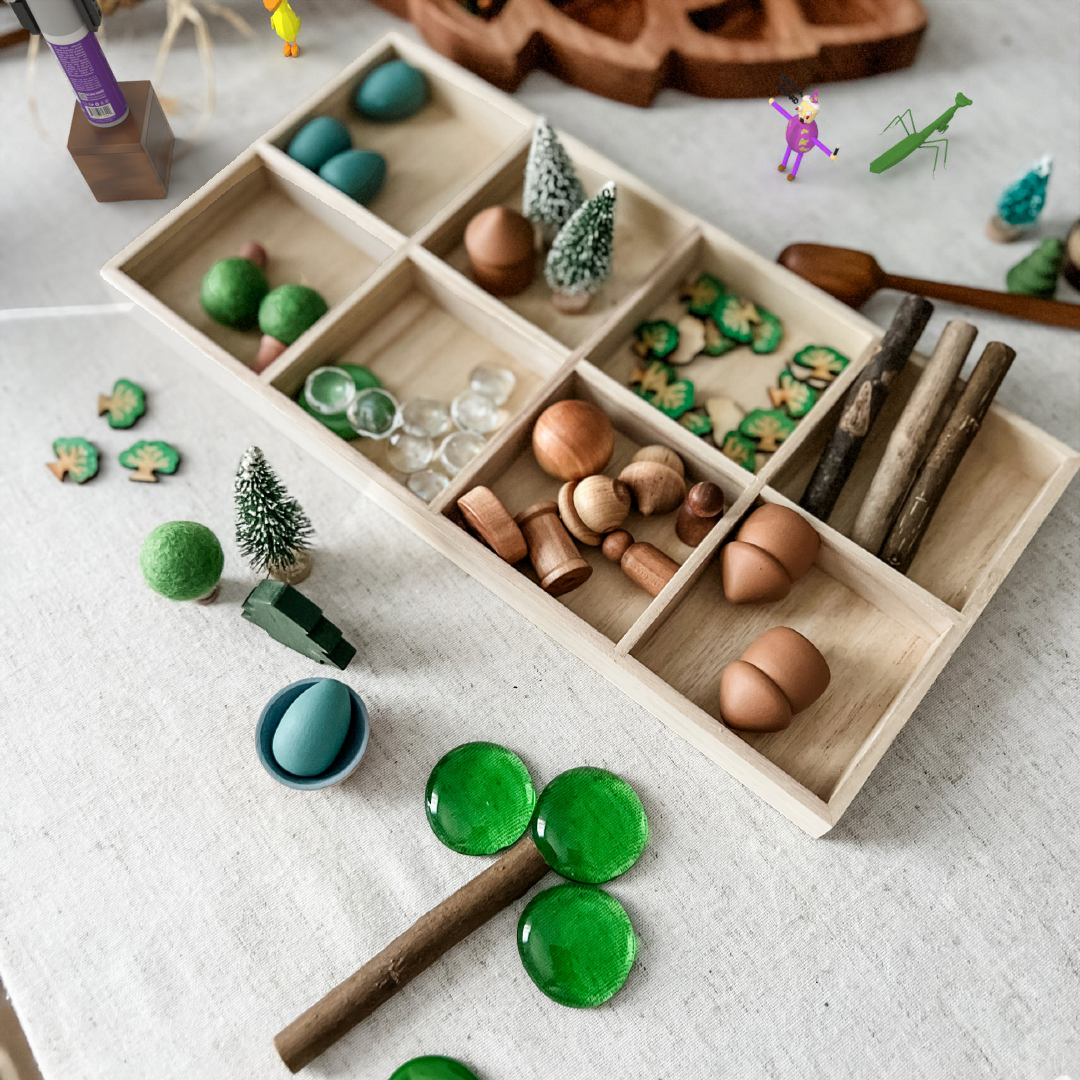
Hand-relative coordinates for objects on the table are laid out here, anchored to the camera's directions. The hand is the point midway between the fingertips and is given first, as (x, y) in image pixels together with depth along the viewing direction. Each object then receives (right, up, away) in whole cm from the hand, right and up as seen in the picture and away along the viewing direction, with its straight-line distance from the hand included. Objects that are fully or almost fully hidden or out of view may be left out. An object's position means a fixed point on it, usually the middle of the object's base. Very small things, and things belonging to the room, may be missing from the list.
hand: (66, 27), depth 95 cm
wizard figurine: (+78, -8, +17) cm, 80 cm away
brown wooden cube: (0, -8, +17) cm, 18 cm away
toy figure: (+16, +10, +25) cm, 32 cm away
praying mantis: (+93, -6, +18) cm, 94 cm away
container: (0, -4, +10) cm, 11 cm away
